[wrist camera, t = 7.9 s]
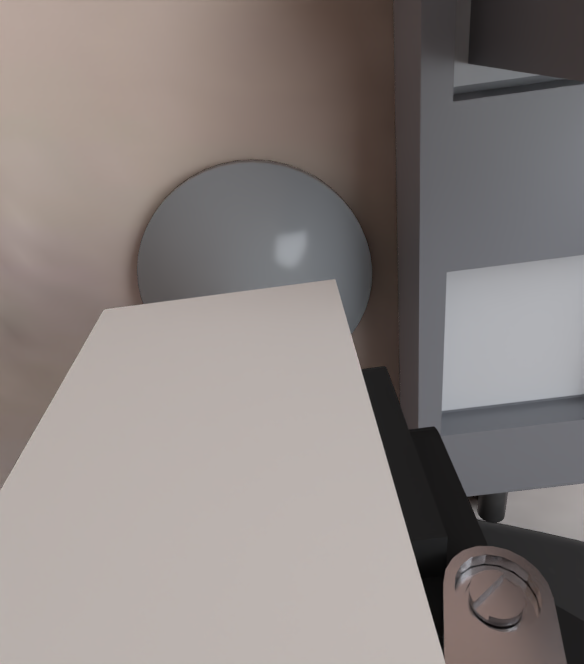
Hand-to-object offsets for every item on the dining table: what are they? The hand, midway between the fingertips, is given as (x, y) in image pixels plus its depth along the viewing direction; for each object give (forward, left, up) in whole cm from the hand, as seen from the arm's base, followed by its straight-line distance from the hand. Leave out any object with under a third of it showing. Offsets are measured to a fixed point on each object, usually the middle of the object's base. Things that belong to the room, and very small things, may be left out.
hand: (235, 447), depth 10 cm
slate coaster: (0, 0, -9) cm, 9 cm away
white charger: (0, 0, -2) cm, 2 cm away
